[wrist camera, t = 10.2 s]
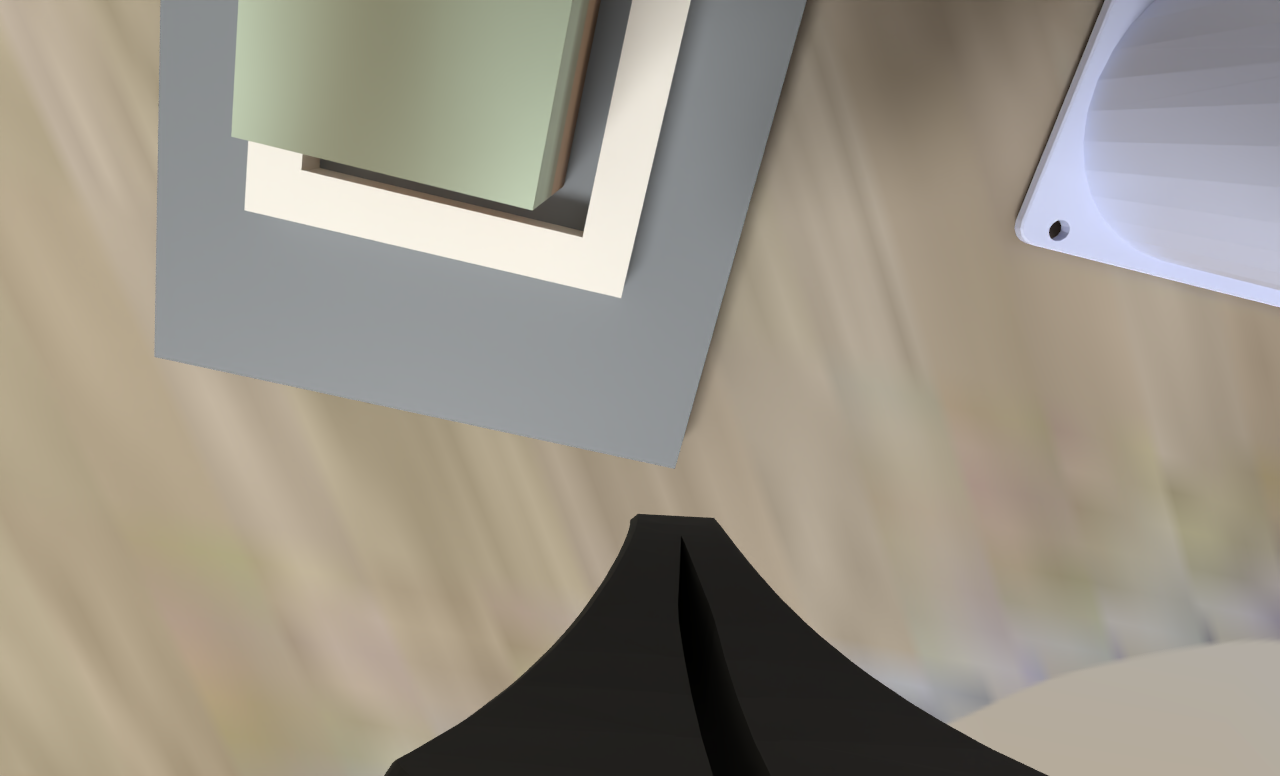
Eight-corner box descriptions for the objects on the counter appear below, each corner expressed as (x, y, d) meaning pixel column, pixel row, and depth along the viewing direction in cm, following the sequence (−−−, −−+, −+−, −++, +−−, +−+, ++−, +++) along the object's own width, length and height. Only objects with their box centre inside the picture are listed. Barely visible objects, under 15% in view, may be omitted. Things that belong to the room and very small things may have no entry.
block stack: (609, -43, 16) (596, -129, 11) (563, 186, 18) (532, 210, 12) (381, -107, 16) (250, -229, 10) (355, 134, 17) (231, 136, 12)
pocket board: (882, -306, 15) (921, -373, 13) (672, 450, 21) (676, 485, 19) (206, -517, 14) (134, -627, 12) (181, 343, 20) (129, 368, 18)
